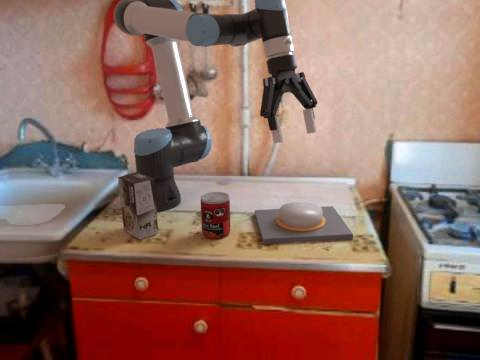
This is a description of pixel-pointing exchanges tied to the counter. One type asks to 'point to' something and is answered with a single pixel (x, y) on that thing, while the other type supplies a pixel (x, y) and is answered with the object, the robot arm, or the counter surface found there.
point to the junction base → (292, 236)
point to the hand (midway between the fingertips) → (295, 137)
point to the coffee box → (138, 205)
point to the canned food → (215, 215)
